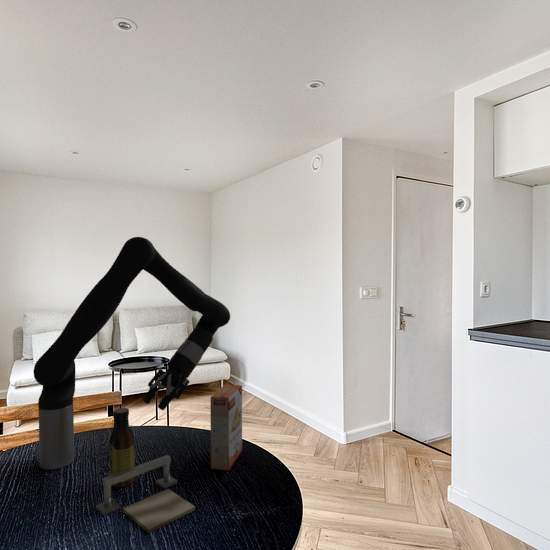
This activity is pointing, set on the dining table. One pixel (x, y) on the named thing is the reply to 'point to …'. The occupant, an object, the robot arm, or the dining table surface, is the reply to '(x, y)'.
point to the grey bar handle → (165, 482)
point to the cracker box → (226, 426)
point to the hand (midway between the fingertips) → (152, 405)
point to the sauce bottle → (121, 446)
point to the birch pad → (158, 510)
